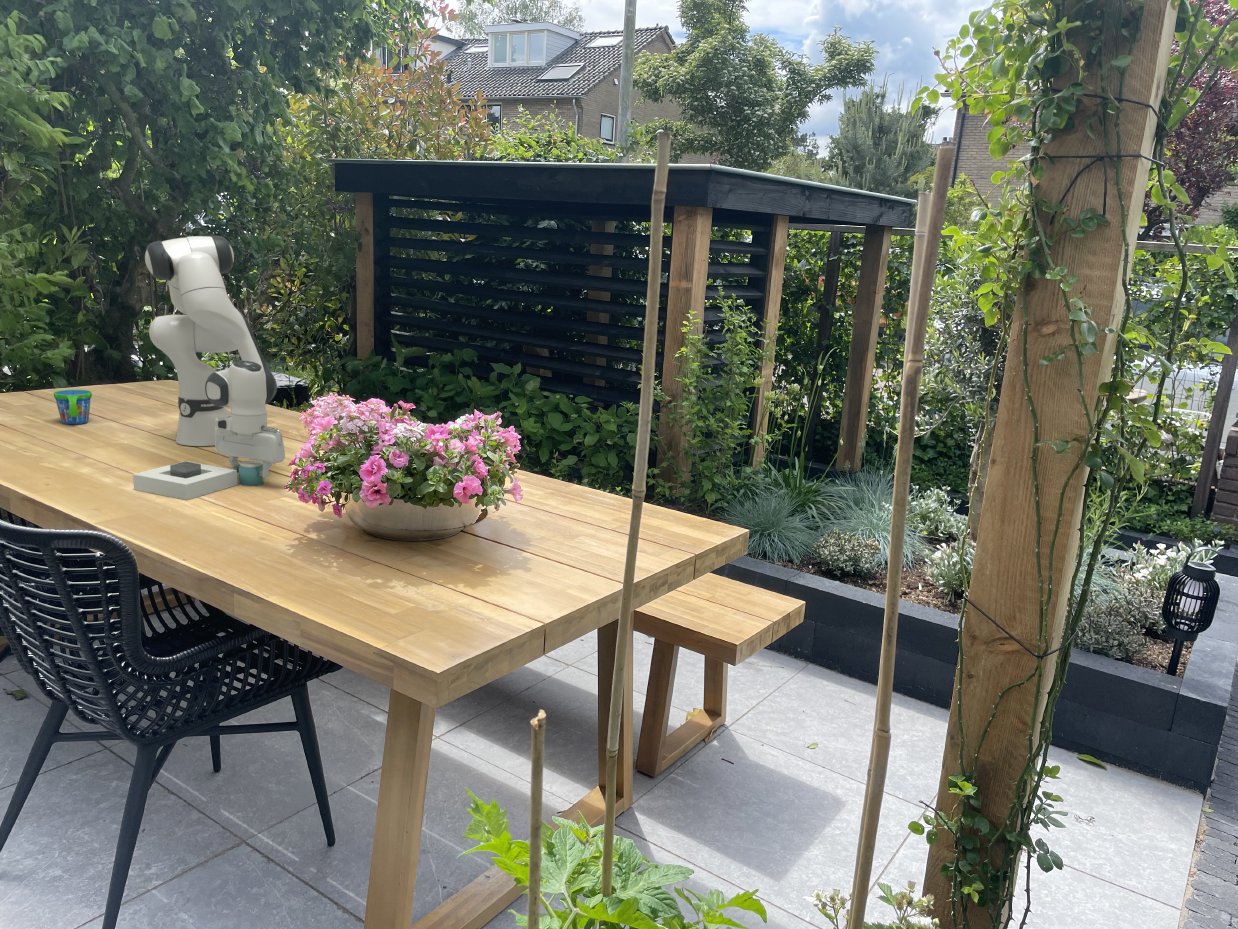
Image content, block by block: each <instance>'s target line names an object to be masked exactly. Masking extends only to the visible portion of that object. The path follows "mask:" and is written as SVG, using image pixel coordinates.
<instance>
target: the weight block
mask: <svg viewBox="0 0 1238 929" xmlns="http://www.w3.org/2000/svg"><path fill="white" fill-rule="evenodd" d="M192 462H193V461H189V462H187V460H185V462H184V461H181V463H180V462H176V463H177V464H176V463H172V464H173V465H172V464H169V465H170V472H171V476H175V477H180V478H190V477H194V476H197V475H201V464H202V463H200V464H198V462H194V463H192Z"/></svg>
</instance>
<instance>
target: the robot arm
mask: <svg viewBox="0 0 1238 929" xmlns="http://www.w3.org/2000/svg"><path fill="white" fill-rule="evenodd" d="M234 260H235V254H234V250H233V248H232V246H231V244H230V243H229V241H228V240H227V238H225V237H224V236H221V235H214V234H213V235H212V234H211V235H210V236H209V235H208V236H205V235H201V236H200V235H199V236H185V237H178V238H172V239H167V240H163V241H161V240H157V241H153V242H151V243H149V244H148V245H147V246H146V248H145V254H144V261H145V262H144V263H145V265H146V267H147V270H148V271H149V273H150V274H151V276H152V277H154V278H155V279H156V280H158V281H159V280H160V281H165V282H166V281H167V284H168V289H169V295H170V301H171V303H172V305H173V306H174V308H175V309H176V310H177V311H178V312H180V313H182V314H167V315H160V316H159V315H158V316H156V317H155V318H154V319H153V320H152V321H151V323H150V326H149V329H148V335H149V338H150V341H151V342H152V343H153V345H154V346H155V347H156V348H157V349H158V350H160V351H161V352H163V353H164V354H165V355H166V356H167V357H168V358H169V360H170V361H171V362H172V364H173V366H174V368H175V370H176V373H177V375H176V376H177V379H178V380H177V381H178V388H179V389H178V390H179V396H178V397H177V398H178V399H177V404H178V406H177V408H178V410H179V413H178V424H177V434H175V435H176V436H175V438H176V439H175V442H176V444H178V445H183V446H190V447H210V446H211V447H212V446H214V450H215V451H216V452H217V454H218V455H223V456H228V461H229V463H230V464H231V466H232V469H233V470H237V474H239V464H240V462H239V460H238V459H239V458H240V459H246V460H256V461H261V462H262V465H263V469H262V470H261V471H259V473H260V475H259V476H260V477H263V479H265V478H268V477H269V471H270V469H271V467H272V465H274V464H275V465H276V464H280V463H283V462H284V461H285V458H286V451H285V450H286V449H285V444H284V439H283V433H282V432H281V431H280V430H279V429H278V428H277V427H271V426H268V410H267V407H266V405H268V404H269V403H270V402H271V401H272V400H273V398H274V397H275V396H276V394H277V391H278V384H277V380H276V378H275V376H274V374H273V373H272V371H271V369H270V368H269V367H268V364H267V362H266V360H265V358H264V356H263V352H262V351H261V349H260V347H259V344H258V342H257V338H256V337H255V334H254V333H253V331H252V328H251V325H250V323H249V321H248V320H247V317H246V316H245V315H244V314H243V313H242V312H240V311H239V310H237V308H236V307H235V305H234V304H233V303H232V301H231V299H230V298H229V295H228V294H227V290H226V285H225V282H224V279H223V277H222V274H226V273H229V272H230V271H231V270H232V269H233V267H234V262H235V261H234ZM234 351H237V352H238V355H239V357H240V359H241V360H236V361H234V362H233V363H231V364H230V366H229V367H228V368H226V369H222V370H218V371H217V370H216V368H214V367H213V366H211V365H210V364H207V363H205V362H203V361H202V360H200V359H199V358H198V356H197V353H216V354H217V353H219V354H222V353H228V352H234ZM228 407H230V411H229V410H228V409H226V408H228Z"/></svg>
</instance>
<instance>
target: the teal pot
mask: <svg viewBox="0 0 1238 929" xmlns="http://www.w3.org/2000/svg"><path fill="white" fill-rule="evenodd" d="M263 467H264V465H262V461H257V460H251V459H247V460H243V461H240V462H239V473H238V484H239V485H240V486H245V487H254V486H255V487H256V486H260V485H263V484H264V478H263V477H260V476H259V475H260V473H259V471H261V470H262V469H263Z"/></svg>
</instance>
